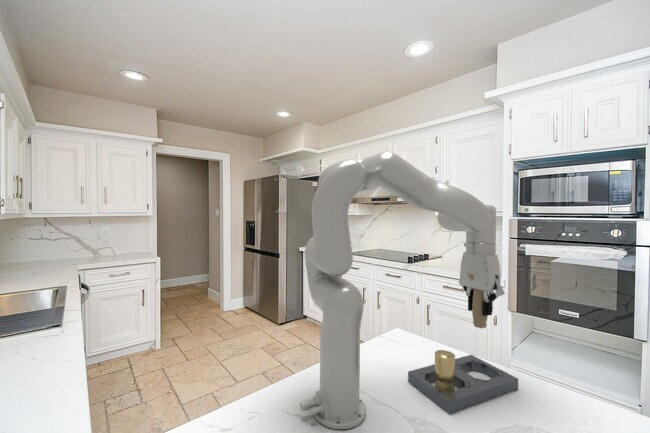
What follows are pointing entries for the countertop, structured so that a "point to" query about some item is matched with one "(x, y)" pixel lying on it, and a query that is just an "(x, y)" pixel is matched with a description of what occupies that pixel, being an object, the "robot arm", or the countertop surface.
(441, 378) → the brass pin
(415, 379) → the bolt plate
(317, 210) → the robot arm
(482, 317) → the handle
